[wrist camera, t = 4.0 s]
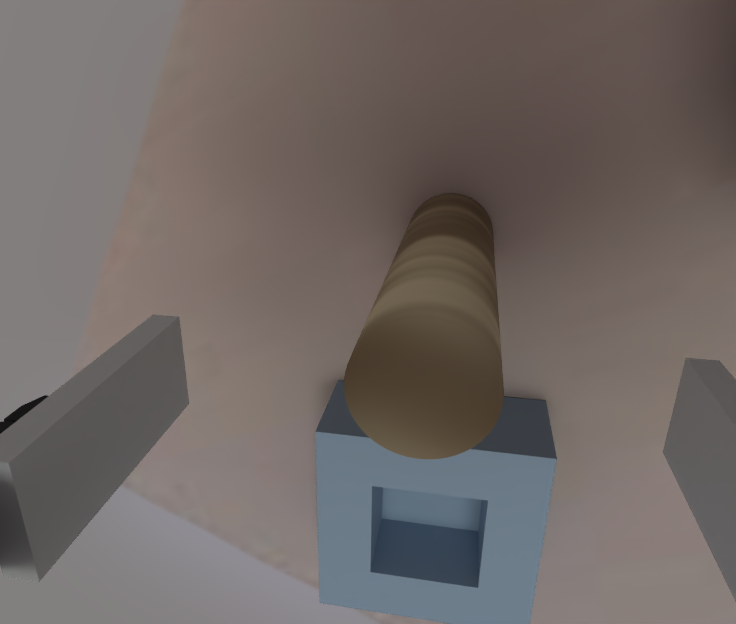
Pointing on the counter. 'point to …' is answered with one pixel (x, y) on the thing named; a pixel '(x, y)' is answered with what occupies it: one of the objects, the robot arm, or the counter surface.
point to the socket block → (434, 520)
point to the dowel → (432, 338)
